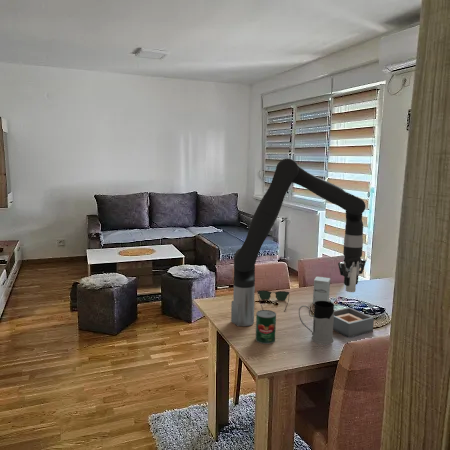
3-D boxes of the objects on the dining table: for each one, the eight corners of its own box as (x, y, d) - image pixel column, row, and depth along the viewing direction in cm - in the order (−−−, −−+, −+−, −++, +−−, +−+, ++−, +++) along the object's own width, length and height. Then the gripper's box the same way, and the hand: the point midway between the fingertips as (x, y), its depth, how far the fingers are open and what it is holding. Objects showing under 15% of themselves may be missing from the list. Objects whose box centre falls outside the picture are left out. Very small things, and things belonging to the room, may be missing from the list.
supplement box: (312, 304, 203) (313, 279, 201) (314, 299, 210) (315, 276, 208) (327, 306, 200) (328, 281, 198) (329, 301, 207) (330, 277, 205)
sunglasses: (256, 311, 194) (256, 301, 193) (257, 299, 210) (257, 290, 210) (291, 312, 192) (291, 302, 192) (288, 300, 209) (289, 291, 208)
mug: (334, 345, 158) (336, 308, 155) (297, 342, 160) (299, 306, 158) (332, 335, 166) (334, 300, 164) (297, 333, 168) (298, 298, 166)
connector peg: (350, 292, 168) (352, 264, 167) (343, 290, 172) (345, 262, 170) (357, 291, 170) (359, 263, 168) (350, 288, 174) (352, 261, 172)
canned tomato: (261, 345, 157) (262, 318, 155) (252, 337, 164) (252, 311, 162) (279, 341, 160) (279, 315, 158) (269, 334, 167) (269, 308, 166)
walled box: (348, 337, 164) (349, 323, 163) (324, 325, 177) (325, 312, 176) (372, 331, 171) (373, 317, 170) (348, 319, 183) (349, 307, 182)
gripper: (347, 248, 161) (344, 289, 164) (372, 245, 168) (369, 284, 171) (333, 244, 168) (331, 284, 171) (358, 241, 175) (356, 280, 177)
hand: (350, 284), depth 171 cm, fingers closed on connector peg, 4 cm apart
